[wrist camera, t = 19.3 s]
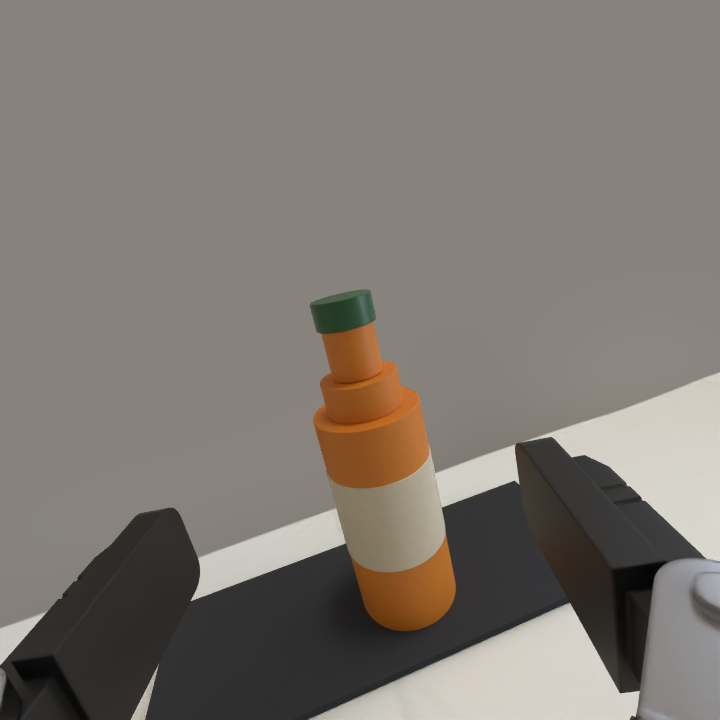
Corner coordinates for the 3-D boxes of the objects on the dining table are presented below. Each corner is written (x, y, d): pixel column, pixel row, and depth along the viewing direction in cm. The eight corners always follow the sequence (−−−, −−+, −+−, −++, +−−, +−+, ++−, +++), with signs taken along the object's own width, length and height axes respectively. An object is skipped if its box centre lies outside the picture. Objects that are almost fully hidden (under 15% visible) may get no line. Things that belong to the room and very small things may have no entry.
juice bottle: (446, 545, 27) (394, 278, 22) (466, 624, 21) (402, 290, 16) (362, 559, 27) (293, 301, 22) (361, 639, 22) (268, 320, 17)
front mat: (515, 484, 32) (514, 480, 31) (625, 576, 22) (625, 570, 22) (174, 612, 27) (172, 607, 27) (130, 798, 17) (126, 792, 17)
